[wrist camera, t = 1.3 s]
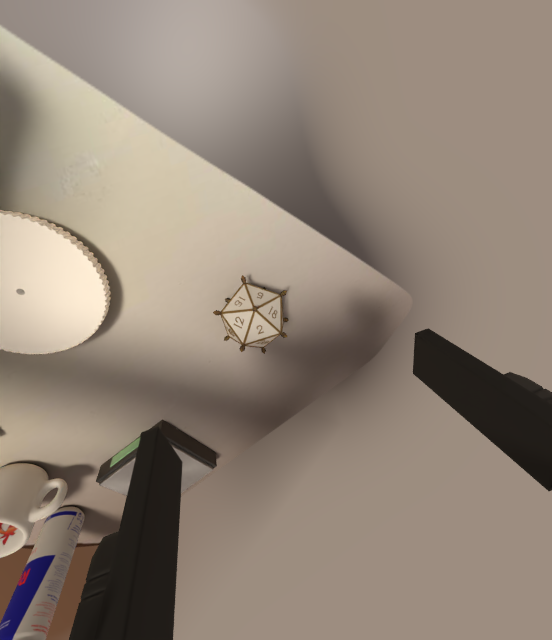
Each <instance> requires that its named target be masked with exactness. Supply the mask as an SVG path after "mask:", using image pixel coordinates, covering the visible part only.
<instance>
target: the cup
mask: <svg viewBox="0 0 552 640" xmlns="http://www.w3.org/2000/svg"><path fill="white" fill-rule="evenodd" d="M57 487H58V492H57V494H56V496H55V498H54V499H53V500H52V501H51V502H50V503H49V504H48V505H46V506H44V507H41V508H40V506H41V504H42V501H43V499H44V497H45V496H46V494H47V493H48V492H49V491H51V490H52V489H54V488H57ZM66 493H67V484H66V482H65V481H64V480H63V479H60V478H57V479H51V480H48V475H47V473H46V471H45V470H44V469H42V468H41V467H39V466H36V465H33V464H27V463H17V464H11V465H7V466H5V467H2V468H0V558H1V557H4V556H7V555H9V554H12V553H14V552H15V551H17V550H19V549H20V548H21V547H23V546H24V545H25V544H26V542H27V541H28V539H29V537H30V535H31V532H32V529H33V526H34V523H35V522H36V521H38V520H41V519H43V518H45V517H47V516H49V515H51V514H52V513H54V512H55V511H56V510H57V509H58V508H59V507H60V506H61V504H62V503H63V501H64V499H65V497H66Z"/></svg>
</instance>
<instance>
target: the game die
mask: <svg viewBox="0 0 552 640" xmlns="http://www.w3.org/2000/svg"><path fill="white" fill-rule="evenodd" d="M241 280H242V282H243V284H242V286H241V287H240V288H239V289H238V291H237V292H236V293H235V294H234V296H233V297H232V298H231V299H229V298H227V299H225V300H226V301H225V302H227V304H226V306H225V307H224V308H223V310H222V311H221V312H220V311H217V310H216V311H214V312H213V313H214V314H215V315H221V317H222V320H223V322H224V325H225V328H226V331H227V333H228V336H226V337H225V338H224V340H229V338H232V339H233V340H235V341H236V342H238V343H240V344H241V345H242V346H241V347H240V351H241V352H242V351H244V349H245V346H249V347H259V348H262V349H261V350H262V352H263V353H264V354H265V351H266V350H265V348H264V347H265V346H266V345H267V344H269V343H270V342H271V341H273V340H274V339H275V338H276V337H278V336H279V335H281V336H282V337H283V338H284V337H287V335H286V333H284V332H282V328H283V321H284V322H287V321H288V319H287V318H284V317H283V306H282V296H284V295H286V292H287V290H286V291H283V292H281V294H278V293H275V292H272V291H269V290H266V289H265V287H264V288H260V287H257V286H254V285H251V284H248V283H246V279H245V277H244V276H243V275H242V278H241Z"/></svg>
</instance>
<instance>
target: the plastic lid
mask: <svg viewBox="0 0 552 640" xmlns="http://www.w3.org/2000/svg"><path fill="white" fill-rule="evenodd" d="M88 249H89V248H88V247H84V246H83V243H82V242H81V241H78V240H77V238H76V237H75V236H73V237H72V236H71V235H70V233H69V232H68V231H67V232H65V231H63V228H61V227H56V226H55V224H53V223H48V222H47V220H44V219H43V220H40V219H39V217H36V216H35V217H31V216H30V215H29V214H23V215H22V213H21V212H14V213H13V212H12V211H3V210H0V350H1V349H3V350H5V351H6V352H9V351H12V352H13V353H17V352H20V354H24V353H28V354H29V355H32V353H35V354H36V355H39V354H40V353H42V354H47V353H50V354H52V353H54V352H60V351H61V350H63V351H65V350H66V349H67V348H69V349H71V348H72V347H73V346H75V347H76V346H77V345H78V344H79V343H80V344H81V343H83V341H84V340H85V341H86V340H87V339H88V338H89V337H91V336H92V334H93V333H95V332H96V330H97V329H98V328H99V326H100V325H101V323H102V322H103V320H104V319H105V316H106V315H107V313H108V312H107V311H108V310H109V307H108V306H109V305H110V302H109V301H110V299H111V297H109V295H110V294H111V292H110V291H109V289H110V286H108V283H109V281H108V280H106V278H107V275H105V274H104V272H105V271H104V269H102V268H101V266H102V265H101V264H100V263H98V262H97V260H98V259H97V258H94V256H93V255H94V254H93V253H92V252H89V251H88Z"/></svg>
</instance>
